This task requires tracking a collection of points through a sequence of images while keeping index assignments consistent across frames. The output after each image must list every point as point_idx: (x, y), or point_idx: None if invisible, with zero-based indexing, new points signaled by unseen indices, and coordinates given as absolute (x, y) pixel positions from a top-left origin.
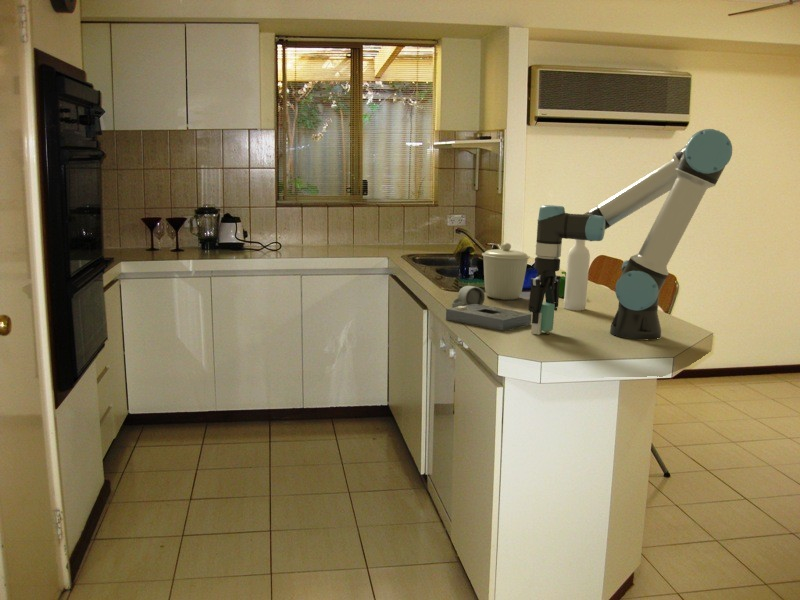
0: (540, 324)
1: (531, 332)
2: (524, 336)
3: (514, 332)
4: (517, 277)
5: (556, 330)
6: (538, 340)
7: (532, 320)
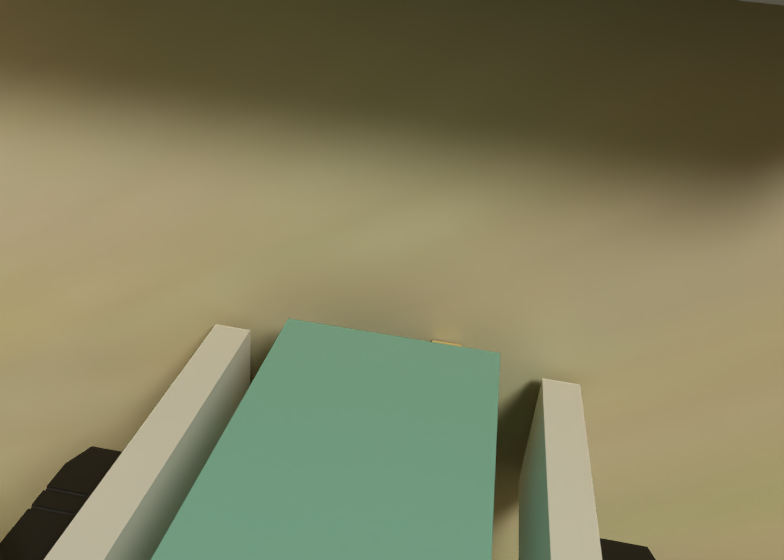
0: None
1: (210, 334)
2: (19, 308)
3: (96, 95)
4: None
5: (733, 491)
6: (6, 486)
7: (54, 483)
